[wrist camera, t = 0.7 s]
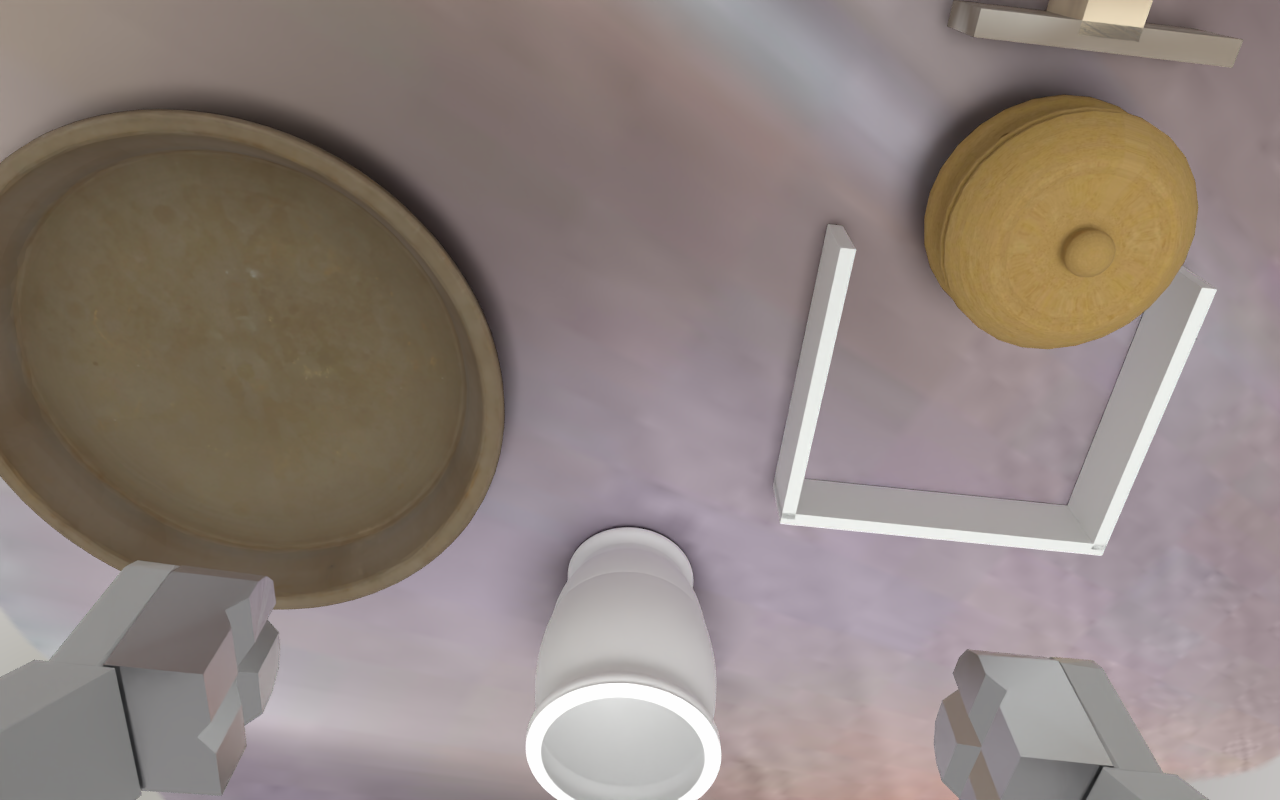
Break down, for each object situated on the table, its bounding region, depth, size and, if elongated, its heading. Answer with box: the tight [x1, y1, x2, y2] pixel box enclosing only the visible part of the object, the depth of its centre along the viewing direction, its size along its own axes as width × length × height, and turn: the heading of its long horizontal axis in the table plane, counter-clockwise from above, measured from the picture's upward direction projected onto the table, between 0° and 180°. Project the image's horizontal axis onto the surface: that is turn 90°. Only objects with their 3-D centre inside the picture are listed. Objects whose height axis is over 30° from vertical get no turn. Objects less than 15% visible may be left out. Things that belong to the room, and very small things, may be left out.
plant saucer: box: [0, 109, 505, 609], centre depth 53 cm, size 31×31×5 cm
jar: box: [526, 527, 721, 800], centre depth 55 cm, size 11×10×15 cm
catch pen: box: [773, 224, 1217, 556], centre depth 53 cm, size 17×20×4 cm
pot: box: [924, 95, 1198, 349], centre depth 45 cm, size 12×12×10 cm
